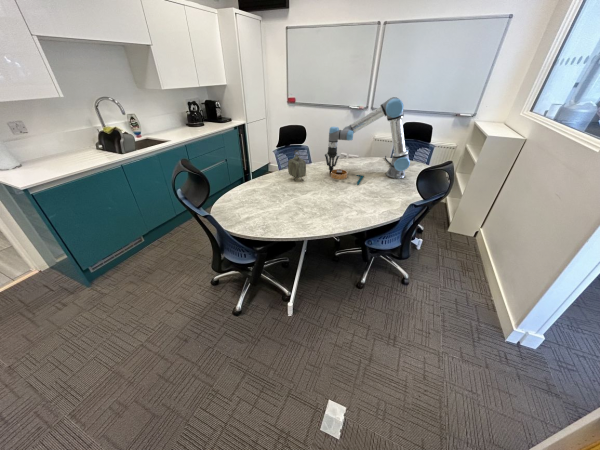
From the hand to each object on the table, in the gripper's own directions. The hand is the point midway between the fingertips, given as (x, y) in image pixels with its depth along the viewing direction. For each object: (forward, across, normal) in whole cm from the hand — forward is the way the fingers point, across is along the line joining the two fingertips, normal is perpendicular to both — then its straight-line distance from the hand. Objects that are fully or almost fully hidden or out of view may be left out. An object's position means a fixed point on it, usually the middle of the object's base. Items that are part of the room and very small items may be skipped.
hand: (330, 173), depth 217 cm
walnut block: (+1, +8, 0) cm, 8 cm away
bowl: (+2, +8, 0) cm, 8 cm away
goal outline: (+2, +16, 0) cm, 16 cm away
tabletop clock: (+2, -23, -22) cm, 32 cm away
